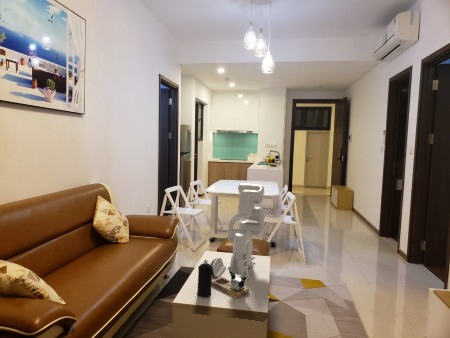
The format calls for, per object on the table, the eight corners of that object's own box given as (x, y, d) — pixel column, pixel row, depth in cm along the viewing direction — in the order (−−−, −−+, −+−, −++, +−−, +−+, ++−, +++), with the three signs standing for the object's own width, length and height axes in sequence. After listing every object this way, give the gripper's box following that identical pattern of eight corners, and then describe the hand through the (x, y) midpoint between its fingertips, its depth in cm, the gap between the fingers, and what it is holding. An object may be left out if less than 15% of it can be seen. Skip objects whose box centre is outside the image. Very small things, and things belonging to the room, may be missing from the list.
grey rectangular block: (236, 289, 182) (237, 277, 181) (243, 293, 179) (243, 279, 178) (231, 292, 178) (231, 279, 177) (237, 296, 175) (238, 282, 174)
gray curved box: (218, 279, 195) (214, 263, 195) (211, 280, 196) (207, 265, 196) (226, 268, 210) (222, 254, 211) (220, 269, 212) (216, 255, 212)
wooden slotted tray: (220, 280, 193) (221, 276, 193) (248, 293, 179) (248, 288, 178) (210, 284, 186) (210, 280, 186) (238, 298, 172) (239, 294, 172)
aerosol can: (212, 297, 173) (214, 262, 170) (198, 298, 170) (200, 263, 168) (209, 289, 180) (211, 257, 178) (195, 291, 178) (197, 257, 176)
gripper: (255, 257, 173) (253, 288, 175) (232, 249, 185) (230, 277, 187) (247, 261, 168) (245, 292, 170) (223, 252, 179) (222, 281, 181)
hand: (237, 284), depth 178 cm, fingers open, 6 cm apart
